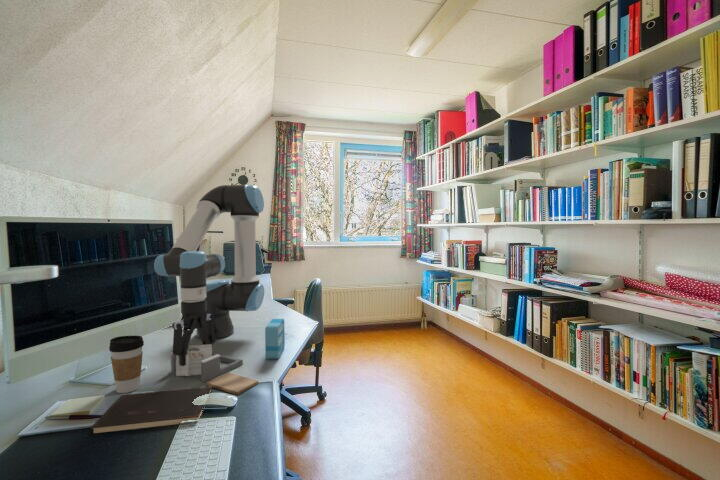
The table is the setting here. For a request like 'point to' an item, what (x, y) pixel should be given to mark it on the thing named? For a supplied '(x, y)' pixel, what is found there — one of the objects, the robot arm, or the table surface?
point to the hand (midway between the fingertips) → (195, 370)
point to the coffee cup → (126, 362)
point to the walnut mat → (232, 383)
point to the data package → (274, 339)
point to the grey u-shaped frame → (212, 365)
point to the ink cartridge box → (195, 359)
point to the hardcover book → (151, 410)
